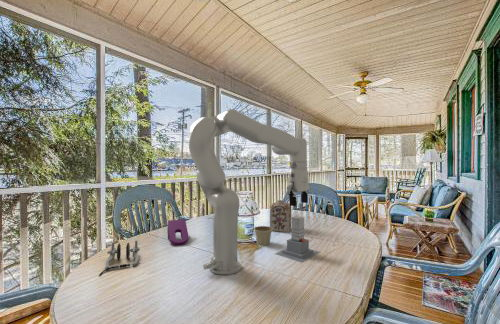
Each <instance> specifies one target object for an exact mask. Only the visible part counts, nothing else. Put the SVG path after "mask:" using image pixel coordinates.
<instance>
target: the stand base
mask: <svg viewBox="0 0 500 324" xmlns="http://www.w3.org/2000/svg"><path fill="white" fill-rule="evenodd" d="M309 241H310V240H309V239H308V238H307V239H306V238H304V239H302V242H296V241H292V237H291V238H289V239H286V248H284V249H283V250H280V251H278V252H276V253H274V255H277V256H279V257H283V258H286V259H290V260H293V261H297V262H300V263H304V262H305V261H308V260H309V259H312V258H313V257H314V256H316V255H318V254H321V251H319V250H314V249H310V248H309V246H310V242H309Z"/></svg>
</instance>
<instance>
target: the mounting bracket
mask: <svg viewBox="0 0 500 324" xmlns="http://www.w3.org/2000/svg"><path fill="white" fill-rule="evenodd" d="M166 229H167V239H168V241H169V243H170V244H171V245H173V246H182V245H185V244H187V243H188V241H189V232H188V227H187V221H186V219H184V218H183V219H182V218H181V219H171V220H170V219H169V220H167V228H166ZM177 233H180V238H181V239H180V240H179V239H177V236H176V234H177Z"/></svg>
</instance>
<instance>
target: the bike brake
mask: <svg viewBox="0 0 500 324" xmlns="http://www.w3.org/2000/svg"><path fill="white" fill-rule="evenodd" d="M125 247H126V248H125V249H126V250H125V254H126V255H125V258H126V260H129V258H130V255H131V253H132V257H133V258H134V261H133V262H132V264H130V263H125V264H124V263H123V264H120V265H119V264H113V265H109V264H110V263H111V262H112V261H113V260H114V259H115V257H116V259H117V261H120V259H121V253H122V252H121V251H122V250H121V249H122V247H121V243H120V242H119V243H117V247H115V242H111V249H110V250H108V251H107V254H108V257H107V259H106V260H105V269H104V270H102V271H101V272H100V273H99V275H98V277H101V276H102V274H103V273H105V272H107V271H110V270H118V269H119V268H120V269H122V268H126V267H127V268H128V267H130V266H133V267H137V266H138V265H140V264H141V263H140V262H139V255H138V252H140V247H139V246H138V240H134V246H133V248H131V246H130V243H129V242H127V243H126V246H125Z"/></svg>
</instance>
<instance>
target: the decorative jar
mask: <svg viewBox="0 0 500 324" xmlns="http://www.w3.org/2000/svg"><path fill="white" fill-rule="evenodd" d="M292 207H293V206H290V205H289V203H288V202H286V201H285V200H282V199H278V200H277V201H276V202H273V203H271V205H270V208H269V227H271V228H273V230H272V232H277V231H280V232H279V233H289V232H290V230H291V229H292Z"/></svg>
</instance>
